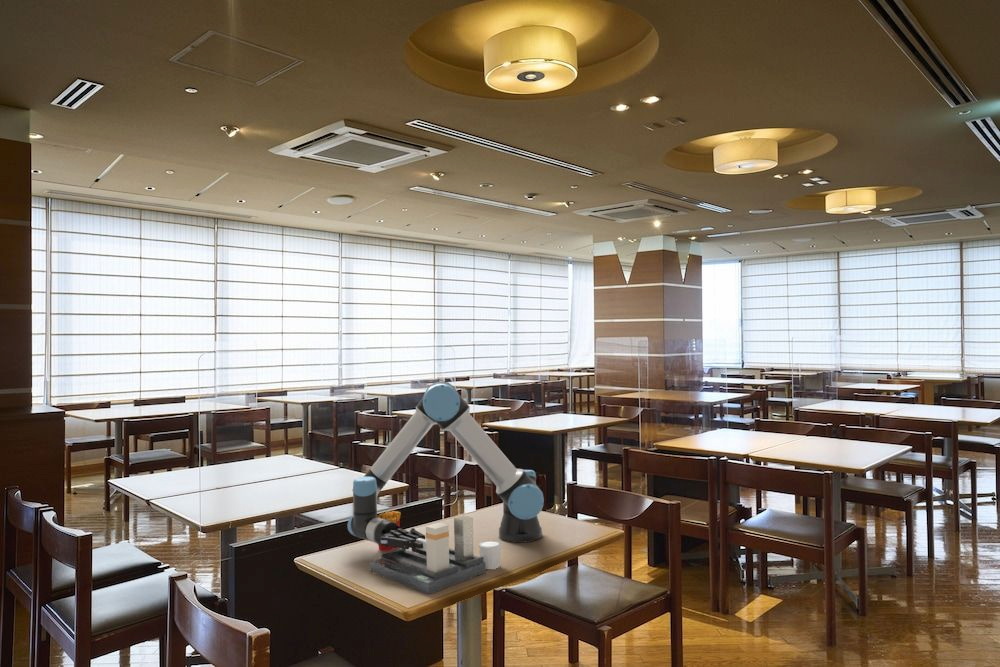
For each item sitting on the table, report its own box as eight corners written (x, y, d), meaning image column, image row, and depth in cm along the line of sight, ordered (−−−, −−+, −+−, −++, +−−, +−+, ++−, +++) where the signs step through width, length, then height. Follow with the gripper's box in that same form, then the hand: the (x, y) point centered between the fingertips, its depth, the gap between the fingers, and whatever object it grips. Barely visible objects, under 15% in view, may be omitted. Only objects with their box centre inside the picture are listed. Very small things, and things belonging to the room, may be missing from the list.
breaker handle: (440, 567, 192) (439, 522, 192) (449, 570, 189) (448, 524, 189) (426, 572, 188) (425, 526, 188) (436, 575, 186) (435, 528, 186)
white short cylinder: (504, 563, 203) (503, 540, 204) (498, 571, 197) (498, 547, 197) (482, 562, 205) (482, 539, 205) (476, 570, 198) (476, 546, 198)
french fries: (380, 552, 217) (380, 515, 217) (375, 549, 220) (374, 513, 221) (403, 546, 223) (402, 511, 223) (397, 544, 226) (396, 508, 226)
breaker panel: (427, 553, 215) (426, 504, 215) (485, 572, 196) (484, 518, 196) (370, 571, 199) (369, 518, 199) (428, 594, 180) (427, 535, 180)
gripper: (400, 539, 211) (449, 554, 195) (366, 549, 202) (414, 566, 186) (399, 516, 212) (449, 529, 195) (365, 524, 202) (414, 539, 186)
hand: (432, 547), depth 190 cm, fingers closed
